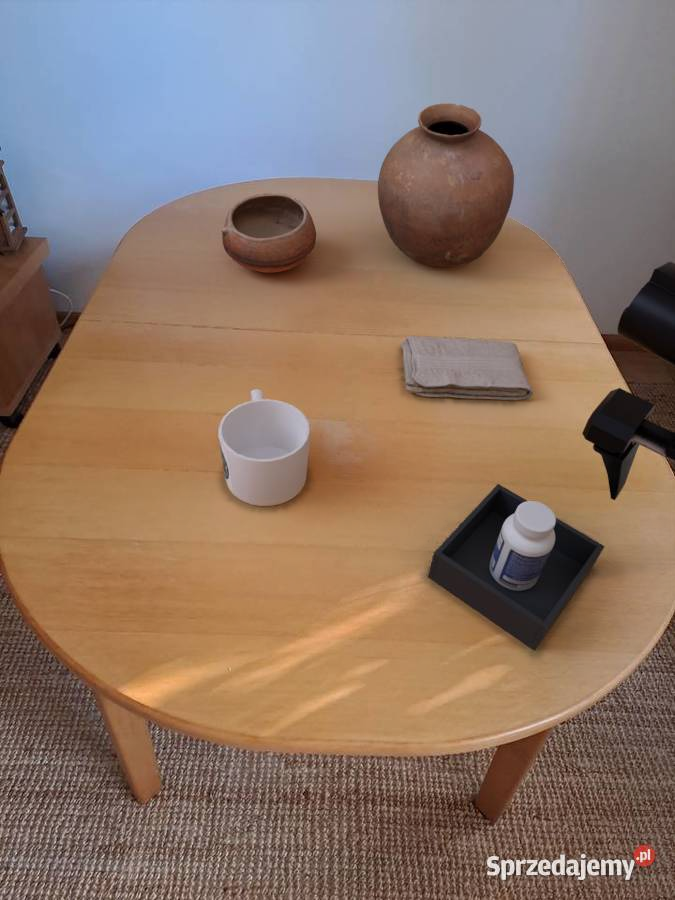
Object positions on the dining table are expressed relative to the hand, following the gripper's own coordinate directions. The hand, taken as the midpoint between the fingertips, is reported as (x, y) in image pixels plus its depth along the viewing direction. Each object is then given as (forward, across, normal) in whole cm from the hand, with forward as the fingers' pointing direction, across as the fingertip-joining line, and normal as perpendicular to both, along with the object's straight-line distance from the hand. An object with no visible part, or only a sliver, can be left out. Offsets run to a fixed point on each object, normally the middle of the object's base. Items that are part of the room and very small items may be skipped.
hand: (660, 522), depth 63 cm
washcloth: (+14, +33, -22) cm, 41 cm away
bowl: (+14, +75, -25) cm, 80 cm away
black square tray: (+13, +10, +5) cm, 17 cm away
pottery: (+14, +55, -48) cm, 74 cm away
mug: (+14, +41, +11) cm, 45 cm away
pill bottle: (+13, +10, +5) cm, 17 cm away
